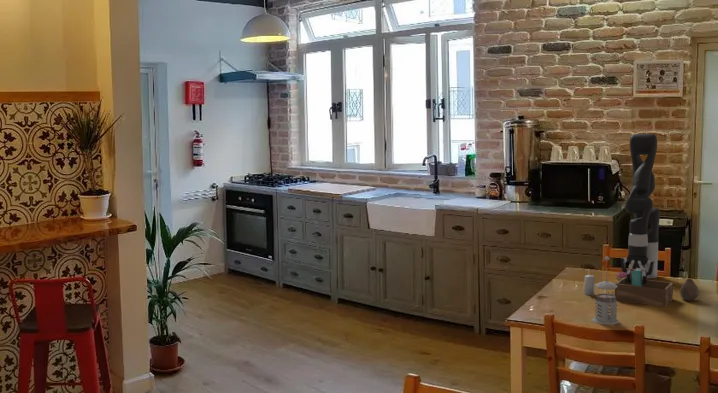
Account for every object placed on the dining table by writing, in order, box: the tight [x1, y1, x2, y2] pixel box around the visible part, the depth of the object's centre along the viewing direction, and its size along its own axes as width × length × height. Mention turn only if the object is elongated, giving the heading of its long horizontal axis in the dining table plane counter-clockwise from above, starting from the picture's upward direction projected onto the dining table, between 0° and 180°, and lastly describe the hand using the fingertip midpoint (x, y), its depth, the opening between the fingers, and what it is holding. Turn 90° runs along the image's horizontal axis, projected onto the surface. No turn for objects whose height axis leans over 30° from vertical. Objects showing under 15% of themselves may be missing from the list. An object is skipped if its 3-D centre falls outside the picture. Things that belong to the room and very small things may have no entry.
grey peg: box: [583, 274, 595, 296], centre depth 311 cm, size 4×4×8 cm
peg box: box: [614, 277, 674, 308], centre depth 300 cm, size 14×20×7 cm
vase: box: [679, 278, 699, 302], centre depth 298 cm, size 7×7×9 cm
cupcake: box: [615, 264, 632, 282], centre depth 321 cm, size 9×8×12 cm
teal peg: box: [631, 269, 643, 287], centre depth 302 cm, size 4×4×12 cm
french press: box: [591, 256, 620, 326], centre depth 270 cm, size 10×12×25 cm
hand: (636, 283), depth 302 cm, fingers open, 5 cm apart
